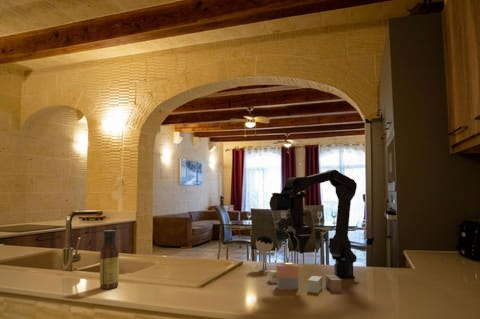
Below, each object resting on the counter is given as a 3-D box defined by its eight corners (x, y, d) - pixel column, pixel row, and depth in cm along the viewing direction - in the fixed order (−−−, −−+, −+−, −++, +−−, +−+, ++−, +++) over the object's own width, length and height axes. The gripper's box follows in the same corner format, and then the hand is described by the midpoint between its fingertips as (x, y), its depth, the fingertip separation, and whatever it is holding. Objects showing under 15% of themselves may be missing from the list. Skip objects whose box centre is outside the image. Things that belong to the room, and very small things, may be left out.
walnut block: (325, 286, 126) (325, 275, 126) (335, 286, 126) (335, 275, 126) (331, 291, 119) (331, 279, 119) (341, 291, 119) (341, 279, 119)
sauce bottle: (122, 286, 124) (124, 229, 126) (110, 290, 118) (112, 231, 120) (107, 284, 126) (109, 229, 128) (94, 288, 121) (97, 230, 123)
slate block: (295, 286, 125) (295, 275, 125) (298, 289, 121) (298, 277, 122) (276, 287, 124) (276, 275, 124) (278, 289, 120) (278, 278, 121)
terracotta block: (296, 275, 125) (295, 264, 125) (298, 277, 121) (298, 266, 122) (276, 275, 124) (276, 264, 125) (278, 278, 121) (278, 266, 121)
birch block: (285, 279, 135) (285, 269, 135) (289, 282, 132) (289, 271, 132) (268, 281, 133) (268, 270, 133) (272, 283, 130) (272, 272, 130)
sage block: (312, 287, 124) (312, 275, 125) (322, 288, 123) (322, 276, 123) (307, 292, 118) (307, 280, 119) (318, 293, 117) (317, 281, 117)
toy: (274, 267, 156) (274, 234, 157) (274, 271, 149) (274, 235, 151) (255, 267, 157) (255, 233, 158) (254, 270, 150) (254, 235, 152)
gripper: (270, 209, 141) (271, 248, 140) (281, 212, 123) (282, 257, 121) (297, 208, 143) (298, 247, 141) (311, 211, 124) (313, 255, 123)
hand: (297, 251), depth 132 cm, fingers open, 9 cm apart
